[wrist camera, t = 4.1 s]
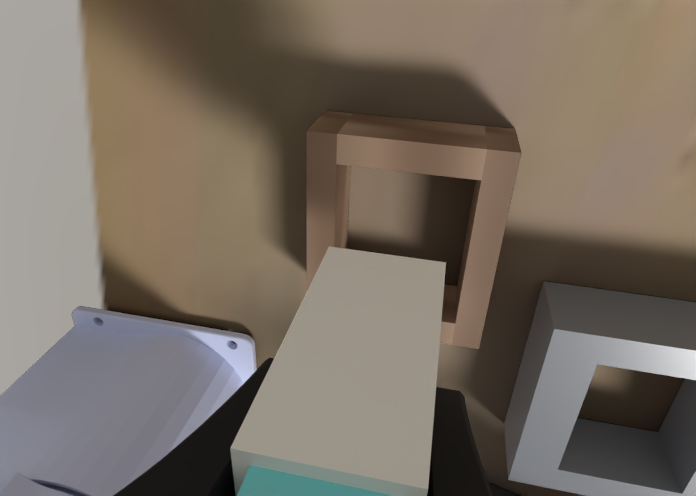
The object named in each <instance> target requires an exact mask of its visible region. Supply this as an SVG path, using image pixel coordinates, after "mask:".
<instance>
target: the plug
mask: <svg viewBox="0 0 696 496" xmlns="http://www.w3.org/2000/svg"><path fill="white" fill-rule="evenodd" d="M445 269H446V262H439V261H432V260H424V259H417V258H410V257H402V256H395V255H388V254H381V253H373V252H366V251H359V250H351V249H344V248H337V247H330V246H329V247H328V249H327V252H326V254H325V256H324V258H323V260H322V262H321V264H320V266H319V268H318V270H317V272H316V274H315V276H314V278H313V280H312V282H311V284H310V286H309V288H308V290H307V292H306V294H305V296H304V299H303V301H302V303H301V305H300V307H299V309H298V311H297V313H296V315H295V317H294V319H293V321H292V323H291V325H290V327H289V329H288V331H287V333H286V335H285V337H284V339H283V341H282V343H281V346H280V348H279V350H278V352H277V354H276V356H275V358H274V360H273V362H272V364H271V366H270V368H269V370H268V372H267V374H266V376H265V378H264V380H263V382H262V384H261V386H260V388H259V390H258V393H257V395H256V397H255V399H254V401H253V403H252V405H251V407H250V409H249V411H248V413H247V415H246V417H245V419H244V421H243V423H242V425H241V427H240V429H239V431H238V433H237V435H236V437H235V440H234V442H233V444H232V446H231V448H230V451H231V460H232V468H233V477H234V486H235V495H236V496H427V493H428V484H429V472H430V459H431V446H432V434H433V421H434V408H435V396H436V383H437V370H438V358H439V345H440V332H441V320H442V307H443V294H444V282H445Z"/></svg>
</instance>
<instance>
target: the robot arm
mask: <svg viewBox="0 0 696 496" xmlns="http://www.w3.org/2000/svg"><path fill="white" fill-rule="evenodd" d="M72 318H73V322H74V325H75V326H74V327H73V328H72V329H71V330H70V331H69V332H68V333H67V334H66V335H65V336H64V337H63V338H61V339H60V340H59V341H58V342H57V343H56V344H55V345H54V346H53V347H52V348H51V349H50V350H49V351H48V352H46V353H45V355H43V356H42V357H41V358H40V359H39V360H38V361H37V362H36V363H35V364H34V365H32V366H31V367H30V368H29V369H28V370H27V371H26V372H25V373H24V374H23V375H22V376H21V377H20V378H18V379H17V380H16V381H15V382H14V383H13V384H12V385H11V386H10V387H9V388H8V389H7V390H6V391H5V392H4V393H2V394H1V395H0V496H236V495H235V486H234V477H233V468H232V460H231V451H230V448H231V446H232V444H233V442H234V440H235V437H236V435H237V433H238V431H239V429H240V427H241V425H242V423H243V421H244V419H245V417H246V415H247V413H248V411H249V409H250V407H251V405H252V403H253V401H254V399H255V397H256V395H257V393H258V390H259V388H260V386H261V384H262V382H263V380H264V378H265V376H266V374H267V372H268V370H269V368H270V366H271V364H272V362H273V360H274V358H269V359H267V360H266V361H265V362H264V363H263V364H262V365H261V366H260V367H259V368H258V369H257V368H256V353H255V343H254V340H253V339H252V337H250V336H249V335H246V334H242V333H236V332H231V331H225V330H219V329H213V328H207V327H201V326H195V325H189V324H184V323H178V322H172V321H166V320H160V319H154V318H148V317H143V316H137V315H131V314H125V313H119V312H113V311H107V310H102V309H95V308H90V307H84V306H79V307H77V308H76V309H75V310H74V311H73V312H72ZM231 341H234V342H235V343H236V344H234V343H233V342H231ZM427 496H493V494H492V491H491V489H490V486H489V483H488V480H487V478H486V475H485V472H484V469H483V466H482V464H481V461H480V458H479V455H478V451H477V448H476V445H475V442H474V438H473V435H472V431H471V427H470V424H469V419H468V415H467V410H466V405H465V399H464V395H463V394H462V393H461V392H460V391H456V390H450V389H444V388H439V387H436V396H435V408H434V421H433V434H432V446H431V459H430V472H429V484H428V493H427Z"/></svg>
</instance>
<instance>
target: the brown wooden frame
mask: <svg viewBox="0 0 696 496" xmlns="http://www.w3.org/2000/svg"><path fill="white" fill-rule="evenodd" d="M520 157H521V149H520V145H519V141H518V138H517V134H516V130H515V129H512V128H502V127H491V126H481V125H470V124H460V123H449V122H439V121H428V120H418V119H407V118H397V117H386V116H376V115H365V114H355V113H344V112H334V111H325V112H324V113H323V114H322V115H321V116H320V117H319V118H318V119H317V120H316V121H315V122H314V123H313V124H312V125H311V127H310V128H309V129H308V130H307V131H306V180H307V290H308V288H309V286H310V284H311V282H312V280H313V278H314V276H315V274H316V272H317V270H318V268H319V266H320V264H321V262H322V260H323V258H324V256H325V254H326V252H327V249H328V247H329V246H330V247H337V248H344V249H347V237H348V214H349V190H350V167H351V166H356V167H365V168H374V169H383V170H392V171H401V172H410V173H419V174H428V175H437V176H446V177H455V178H464V179H473V180H475V186H474V192H473V197H472V203H471V209H470V215H469V220H468V226H467V232H466V237H465V243H464V249H463V255H462V260H461V266H460V272H459V277H458V283H457V286H453V285H446V284H444V294H443V307H442V320H441V332H440V343H443V344H449V345H456V346H462V347H468V348H474V349H479V346H480V342H481V337H482V332H483V328H484V323H485V318H486V314H487V309H488V305H489V300H490V295H491V291H492V286H493V282H494V277H495V272H496V268H497V263H498V259H499V254H500V249H501V245H502V240H503V236H504V231H505V226H506V222H507V217H508V212H509V208H510V203H511V199H512V194H513V189H514V185H515V180H516V176H517V171H518V166H519V162H520Z"/></svg>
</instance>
